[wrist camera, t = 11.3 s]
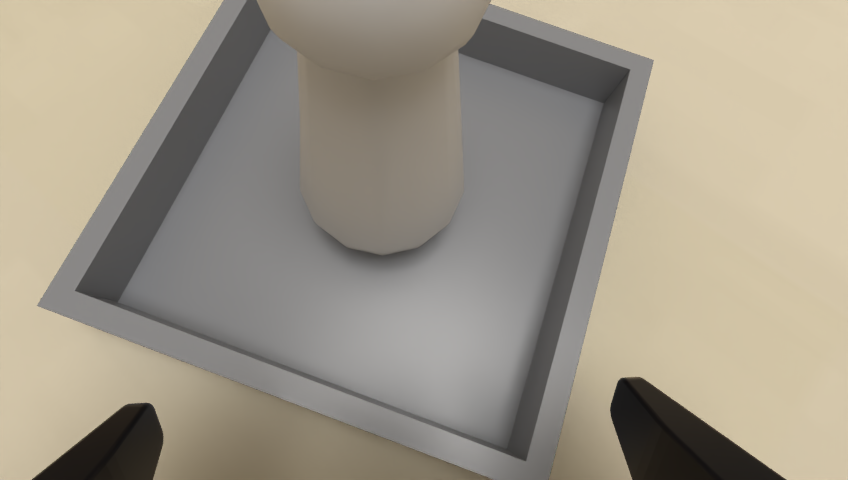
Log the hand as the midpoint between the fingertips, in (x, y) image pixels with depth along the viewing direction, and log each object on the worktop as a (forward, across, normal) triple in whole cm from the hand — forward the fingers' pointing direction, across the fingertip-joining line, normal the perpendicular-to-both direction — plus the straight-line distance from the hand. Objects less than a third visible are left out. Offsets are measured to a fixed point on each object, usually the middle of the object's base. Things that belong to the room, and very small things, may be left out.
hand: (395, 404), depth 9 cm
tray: (+12, 0, +1) cm, 12 cm away
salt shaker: (+11, 0, 0) cm, 11 cm away
